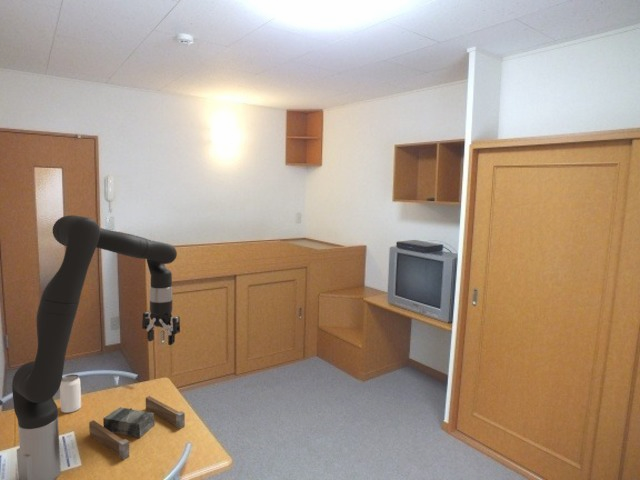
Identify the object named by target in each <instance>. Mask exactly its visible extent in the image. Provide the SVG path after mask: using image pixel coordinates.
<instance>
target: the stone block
mask: <svg viewBox="0 0 640 480" xmlns="http://www.w3.org/2000/svg"><path fill="white" fill-rule="evenodd" d="M154 416H155V414H154V413H152V412H150V411H144V410H138V409H133V408H132V407H131V408H126V407H118V408H117V409H115V410H113V411H111V412H110V413H109V414H107V415H106V416H105V417H103V418H102V421H103V425H102V426H103V427H105V428H106V429H108V430H109V431H111V432H112V433H114V434H121V435H126V436H128V437H136V438H138V439H141V438H142V437H143V436H144V435H145V434H147V432H148V431H150V430H151V429H152V428H153V427H154V426H155V425H156V422H155V417H154Z"/></svg>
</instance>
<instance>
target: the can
mask: <svg viewBox="0 0 640 480" xmlns="http://www.w3.org/2000/svg"><path fill="white" fill-rule="evenodd" d="M81 390H82V389H81V379H80V376H79V375H78V374H74V373H73V374H67V375H64V376H62V381H61V384H60V387H59V398H60V399H59V400H60V401H59V402H60V411H61V412H62V413H64V414H71V413H76V412H77V411H79V410H80V409H81V407H82V391H81Z"/></svg>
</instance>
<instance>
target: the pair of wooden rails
mask: <svg viewBox="0 0 640 480" xmlns="http://www.w3.org/2000/svg"><path fill="white" fill-rule="evenodd" d="M145 410H147V412H151V413H153V414H154V415H156V416H157V417H159V418H161V419H162V420H165V422H166V421H167V422H168V423H170V424H172V425H173V426H175V427H176V428H177V429H179V430H180V429H182V428H185V425H186V424H185V423H186V422H185V421H186V420H185V418H186V417H185V416H186V415H185V412H184V411H182V410H180V411H178V410H176V409H175V408H173V407H170V406H169V405H167V404H166V403H163V402H162V401H159V400H158V399H156V398H154V397H152V396H150V395H148V396H146V397H145ZM88 423H89V424H88V425H89V427H88V428H89V430H88V431H89V436H91V437H92V438H93V439H95V440H96V441H97V442H99V443H100V444H102V445H103V446H104V447H106V448H107V449H109V450H110V451H112V452H113V453H114V454H115V455H118V456H119V458H120V459H121V460H122V461H124V460H125V459H128V458H130V441H129V440H128V439H126V438H125V439H122V438H121V437H120V436H118V435H117V434H116V433H114V432H111V431H109V430H108V429H106V428H105V427H104V425H102V424H101V423H98V422H97V421H95V420H91V421H89V422H88Z"/></svg>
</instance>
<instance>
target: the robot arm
mask: <svg viewBox="0 0 640 480" xmlns="http://www.w3.org/2000/svg"><path fill="white" fill-rule="evenodd" d="M52 234H53V238H54V239H55V241H56V242H58V243H59V245H62V246H64V247H65V248H66V249H65V252H64V256H63V260H62V262H61V265H60V267H59V268H58V270H57V272H56V273H55V274H54V275H53V277H52V278H51V279H50V281H48V283H47V284H46V286H45V288H44V289H43V292H42V294H41V297H40V301H39V305H38V309H37V312H36V319H35V320H36V335H37V349H36V356H35V359H34V360H33V361H29V362H26V363H24V364H23V365H21V366H20V367H18V369H17V370H16V371H15V372H14V375H13V378H12V383H11V389H12V390H11V392H12V401H13V409H14V414H15V416H16V419H17V426H18V443H19V448H17V449H16V460H17V474H18V476H17V477H18V480H55V479H57V478H58V477H59V476H60V473H61V471H62V470H61V454H60V453H61V452H60V451H61V450H60V434H59V433H60V431H59V430H60V429H59V427H60V426H59V409H58V405H57V404H56V402H55V400H54V398H53V397H54V396H55V395H56V393H58V390H60V384H61V381H62V377H63V374H64V373H63V372H64V369H65V368H64V365H65V361H66V360H65V359H66V353H67V349H68V345H69V341H70V337H71V333H72V329H73V326H74V321H75V319H76V315H77V313H78V312H77V311H78V309H79V306H80V305H79V304H80V300H81V295H82V292H83V288H84V284H85V280H86V277H87V273H88V271H89V267H90V264H91V261H92V260H93V257H94V254H95V251H96V249H101V250H104V251H109V252H112V253H115V254H119V255H123V256H125V257H130V258H135V259H140V260H141V259H143V260H146V264H147V267H148V271H149V274H150V290H149V311H146V312H143V313H142V325H141V328H142V330H146V335H147V336H146V337H147V338H146V339H147V342H153V341H154V339H155V333H154V332H155V331H154V329H155V327H157V328H158V327H160V328H163V329H164V331H166V333H167V334H168V336H167V337H168V338H167V339H168V340H167V342H168V346H172V345H174V344H175V341H176V340H175V339H176V334H179V333H180V332H181V320H180V319H181V318H180V316H179V315H177V316H173V315H172V313H173V274H172V271H171V270H170V269H168V268H167V267H166V266H165V265H168V264H171V263H173V262H174V261H175V260H176V259H177V255H178V253H177V252H178V251H177V250H176V248H175V247H174V245H172V244H169V243H165V242H160V241H155V240H151V239H148V238H145V237H143V236H139V235H135V234H130V233H126V232H122V231H121V232H120V231H116V230H115V231H114V230H111V229H106V228H102V227H100V225H99V224H98V222H97V221H96V220H95V219H93V218H90V217H85V216H79V215H74V214H73V215H65V216H62V217H60V218H59V219H57V220H56V221H55V222H54V224H53V226H52Z"/></svg>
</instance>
